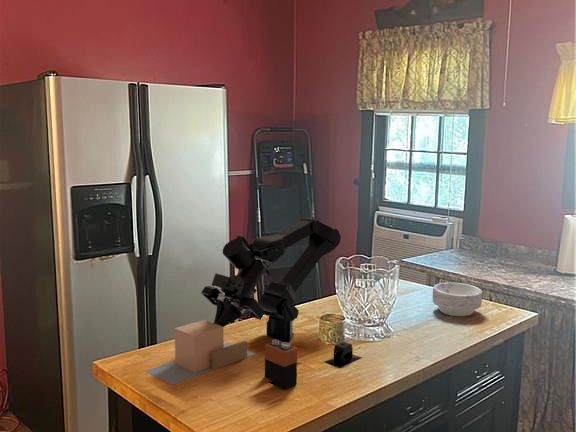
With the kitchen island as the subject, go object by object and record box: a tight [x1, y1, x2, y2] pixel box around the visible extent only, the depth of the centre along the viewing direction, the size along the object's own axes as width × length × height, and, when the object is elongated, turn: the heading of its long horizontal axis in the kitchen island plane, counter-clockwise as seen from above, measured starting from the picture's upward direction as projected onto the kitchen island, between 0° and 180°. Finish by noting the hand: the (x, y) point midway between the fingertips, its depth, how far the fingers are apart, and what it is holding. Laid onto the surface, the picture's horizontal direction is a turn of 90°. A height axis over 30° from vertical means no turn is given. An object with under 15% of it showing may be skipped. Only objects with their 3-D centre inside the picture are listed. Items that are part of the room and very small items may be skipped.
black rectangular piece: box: [323, 341, 363, 369], centre depth 156 cm, size 12×7×5 cm, turn 137°
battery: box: [264, 339, 298, 390], centre depth 142 cm, size 4×7×10 cm, turn 45°
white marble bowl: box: [432, 282, 483, 317], centre depth 196 cm, size 15×15×8 cm
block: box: [174, 319, 225, 372], centre depth 150 cm, size 9×8×9 cm
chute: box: [144, 340, 256, 386], centre depth 151 cm, size 26×11×5 cm, turn 137°
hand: (214, 330), depth 153 cm, fingers closed, pressing on block
